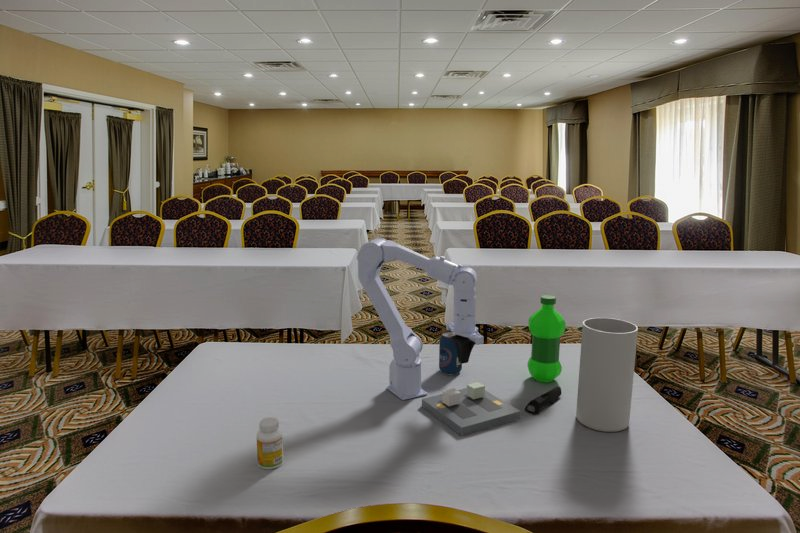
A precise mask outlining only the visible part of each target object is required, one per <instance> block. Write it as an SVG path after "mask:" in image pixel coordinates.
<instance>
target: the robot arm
mask: <svg viewBox="0 0 800 533" xmlns="http://www.w3.org/2000/svg"><path fill="white" fill-rule="evenodd" d="M356 260H357V262H358V263H357V265H358V266H357V272H358V273H357V274H358V275H357V277H358V278H357V279H358V281H359V283H360V285H361V286H362V288H363V290H364V291H365V293H366V295H367V297H368V298H369V301H370V302H371V304H372V306H373V308H374V310H375V312H376V314H377V315H378V317H379V319H380V321H381V322H382V324H383V326H384V328H385V329H386V331H387V333H388V335H389V342H390V347H391V349H392V352H393V354H392V355H393V359H392V360H391V362H390V364H389V371H388V372H389V373H388V374H389V375H388V378H389V381H388V384H389V385H387V386H386V389H387V390H388V391H390V392H391V393H393V394H394V395H395V396H396V397H397V398H399V399H400V400H402V401H406V400H411V399H414V398H418V397H423V396H426V395H428V392H427V391H426V390H424V389H423V388H422V359H421V358H420V355H419V354H420V353H422V349H423V348H424V347H423V341H422V339H421V338H420V337H419V336H418V335H417V334H415V333H414V331H413V330H412V328H411V327H409V326H408V325H406V322H405V321H404V319H403V317H402V315H401V314H400V312H399V309H398V308H397V306H396V304H395V302H394V301H393V299H392V297H391V296H390V294H389V292H388V289H387V288H386V286H385V284H384V283H383V281H382V279H381V278H380V272H381V270H382V266H383V265H384V264H385V263H389V262H392V261H393V262H394V261H399V262H402V263H405V264H407V265H411V266H412V267H413V266H414V267H416V268H419V269H421V270H424V271H425V272H426V275H427V276H428V277H429V278H432V279H434V280H436V281H439V282H442V283H443V284H446V285H449V286H453V289H454V296H453V321H450V322H446V323H445V324H446V328H445V329H446V331H452V332H453V333H454V334H456V335H455V336H452V337H451V339H452V341H453V343H454V345H455V348H456V351H457V355H458V359H459V362H460V363H462V365H463V364H466V363H469V361H470V357H471V353H472V350H473V349H474V346H475V345H476V346H477V345H483V344H484V339H485V338H484V336H483V335H481V334H480V333H479V327H478V326H476V311H477V309H476V308H477V296H476V293H477V290H476V284H477V282H478V274H477V272H476V270H474V269H473V268H472V267H470V266H468V265H464V266H463V264H462V263H458V264H457V263H454V262H452V261H450V260H447V259H446V257H445V256H443V255H441V256H438V255H437V256H434V257H431V258H430V257H428V256H426V255H423V254H421V253H419V252H416V251H414V250H412V249H410V248H408V247H406V246H403V245H402V244H399V243H397V242H395V241H393V240H389V239H388V240H387V239H386V238H383V237H374V238H373V239H372V240H370V241H367V242H366V243H365V242H364V244H362V245H361V247H360V248H359V251H358V253H357V256H356Z"/></svg>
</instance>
